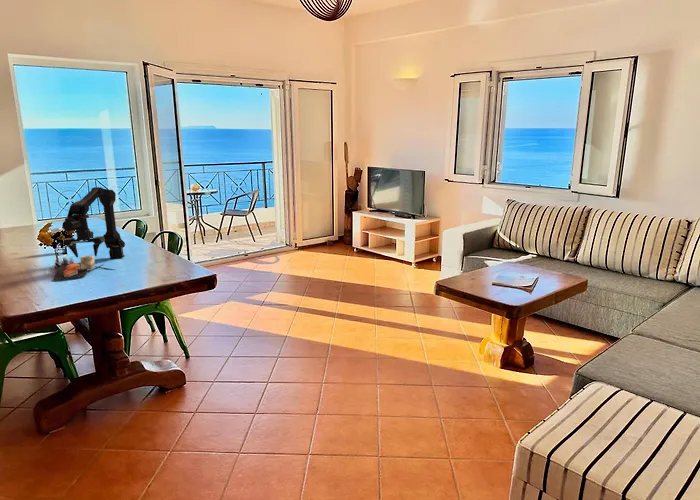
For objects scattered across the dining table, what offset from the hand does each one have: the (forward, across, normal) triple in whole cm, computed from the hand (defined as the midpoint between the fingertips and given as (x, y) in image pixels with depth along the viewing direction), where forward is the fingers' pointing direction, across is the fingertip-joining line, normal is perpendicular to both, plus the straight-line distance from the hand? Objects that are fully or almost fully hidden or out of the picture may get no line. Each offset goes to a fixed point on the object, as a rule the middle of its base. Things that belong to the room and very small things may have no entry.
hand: (86, 256), depth 253 cm
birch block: (+6, 0, 0) cm, 6 cm away
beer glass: (+8, +31, -45) cm, 55 cm away
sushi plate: (+9, 0, 0) cm, 9 cm away
